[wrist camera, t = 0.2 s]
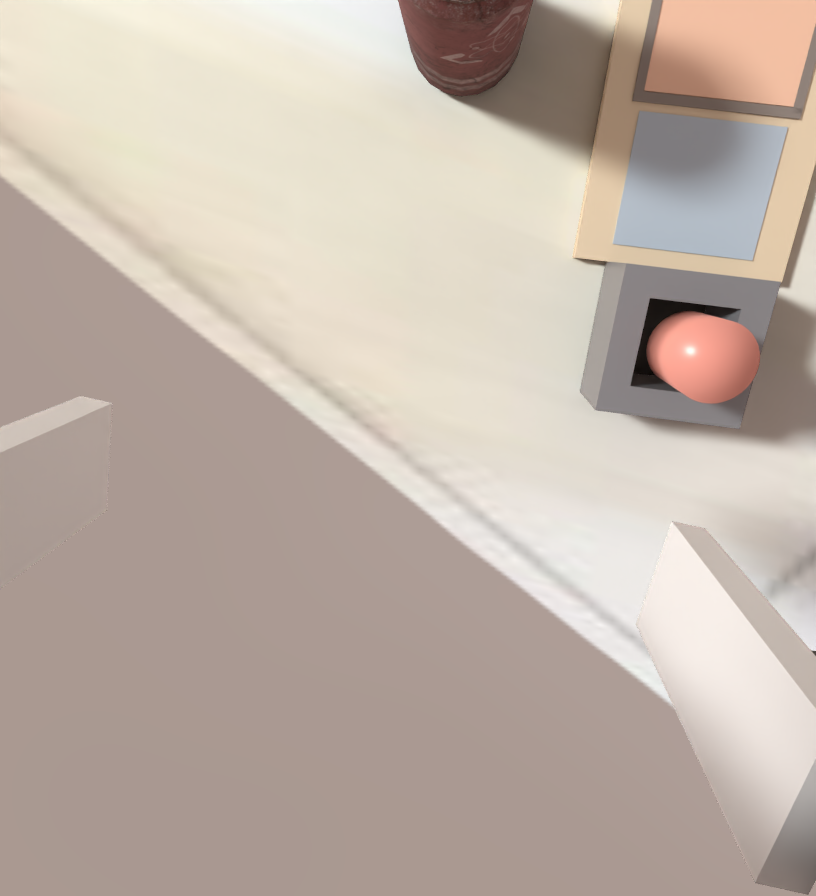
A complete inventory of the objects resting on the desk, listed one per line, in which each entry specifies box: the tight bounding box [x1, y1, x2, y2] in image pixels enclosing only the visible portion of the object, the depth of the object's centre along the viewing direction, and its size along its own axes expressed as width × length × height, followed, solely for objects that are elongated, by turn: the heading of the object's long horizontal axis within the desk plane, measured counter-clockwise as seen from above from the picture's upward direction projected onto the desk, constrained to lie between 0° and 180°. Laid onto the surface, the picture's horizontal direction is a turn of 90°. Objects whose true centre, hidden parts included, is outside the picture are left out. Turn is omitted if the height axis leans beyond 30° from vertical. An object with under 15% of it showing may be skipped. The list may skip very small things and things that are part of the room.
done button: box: [646, 311, 760, 404], centre depth 33 cm, size 4×4×4 cm
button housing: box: [580, 261, 781, 429], centre depth 37 cm, size 8×8×5 cm
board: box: [573, 0, 816, 283], centre depth 35 cm, size 22×12×1 cm, turn 173°
